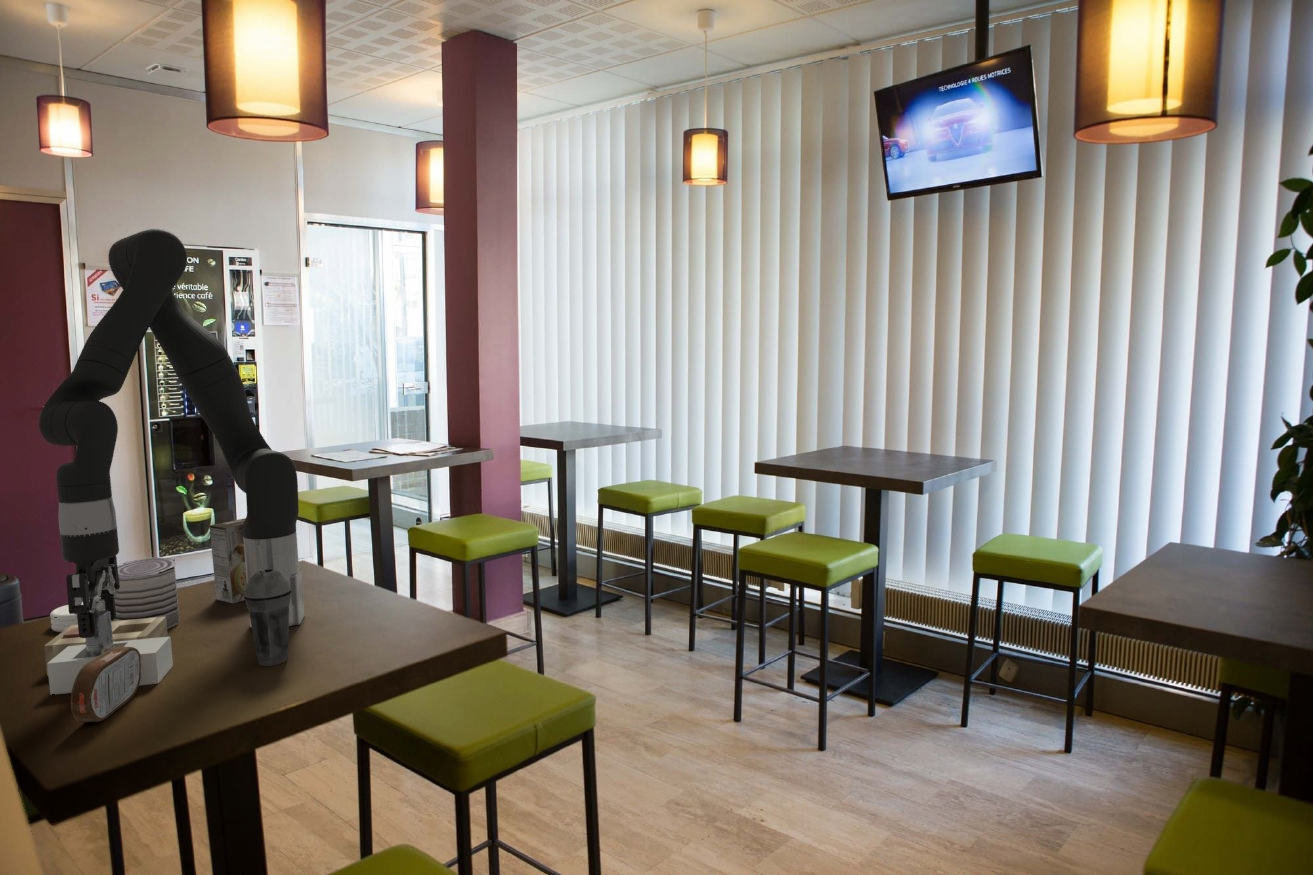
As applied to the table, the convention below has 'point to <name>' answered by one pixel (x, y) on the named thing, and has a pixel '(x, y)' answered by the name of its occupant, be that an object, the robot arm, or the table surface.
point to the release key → (72, 633)
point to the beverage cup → (269, 614)
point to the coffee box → (229, 560)
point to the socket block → (119, 633)
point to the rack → (151, 650)
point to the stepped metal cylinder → (100, 632)
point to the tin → (106, 684)
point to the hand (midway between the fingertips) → (98, 628)
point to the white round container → (62, 619)
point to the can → (147, 590)
